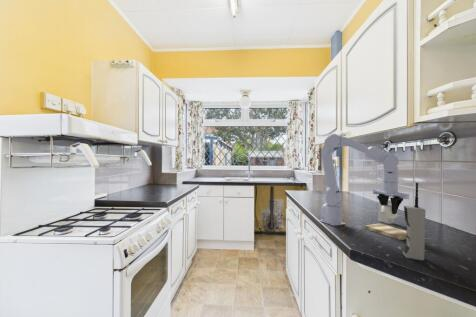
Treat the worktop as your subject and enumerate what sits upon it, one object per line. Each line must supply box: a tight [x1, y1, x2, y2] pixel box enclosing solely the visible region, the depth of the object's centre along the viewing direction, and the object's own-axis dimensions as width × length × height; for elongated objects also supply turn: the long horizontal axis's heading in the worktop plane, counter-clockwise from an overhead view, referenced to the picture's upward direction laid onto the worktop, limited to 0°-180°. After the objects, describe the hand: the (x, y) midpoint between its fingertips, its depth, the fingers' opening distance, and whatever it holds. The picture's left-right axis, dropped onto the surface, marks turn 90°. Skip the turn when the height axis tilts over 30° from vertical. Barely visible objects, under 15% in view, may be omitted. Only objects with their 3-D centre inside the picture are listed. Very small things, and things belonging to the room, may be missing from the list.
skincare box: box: [377, 198, 395, 225], centre depth 121 cm, size 6×4×12 cm
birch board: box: [364, 222, 407, 241], centre depth 104 cm, size 16×10×2 cm, turn 24°
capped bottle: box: [378, 205, 399, 219], centre depth 103 cm, size 4×10×5 cm, turn 115°
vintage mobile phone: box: [402, 182, 426, 261], centre depth 78 cm, size 4×5×25 cm
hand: (389, 212), depth 104 cm, fingers closed on capped bottle, 4 cm apart
